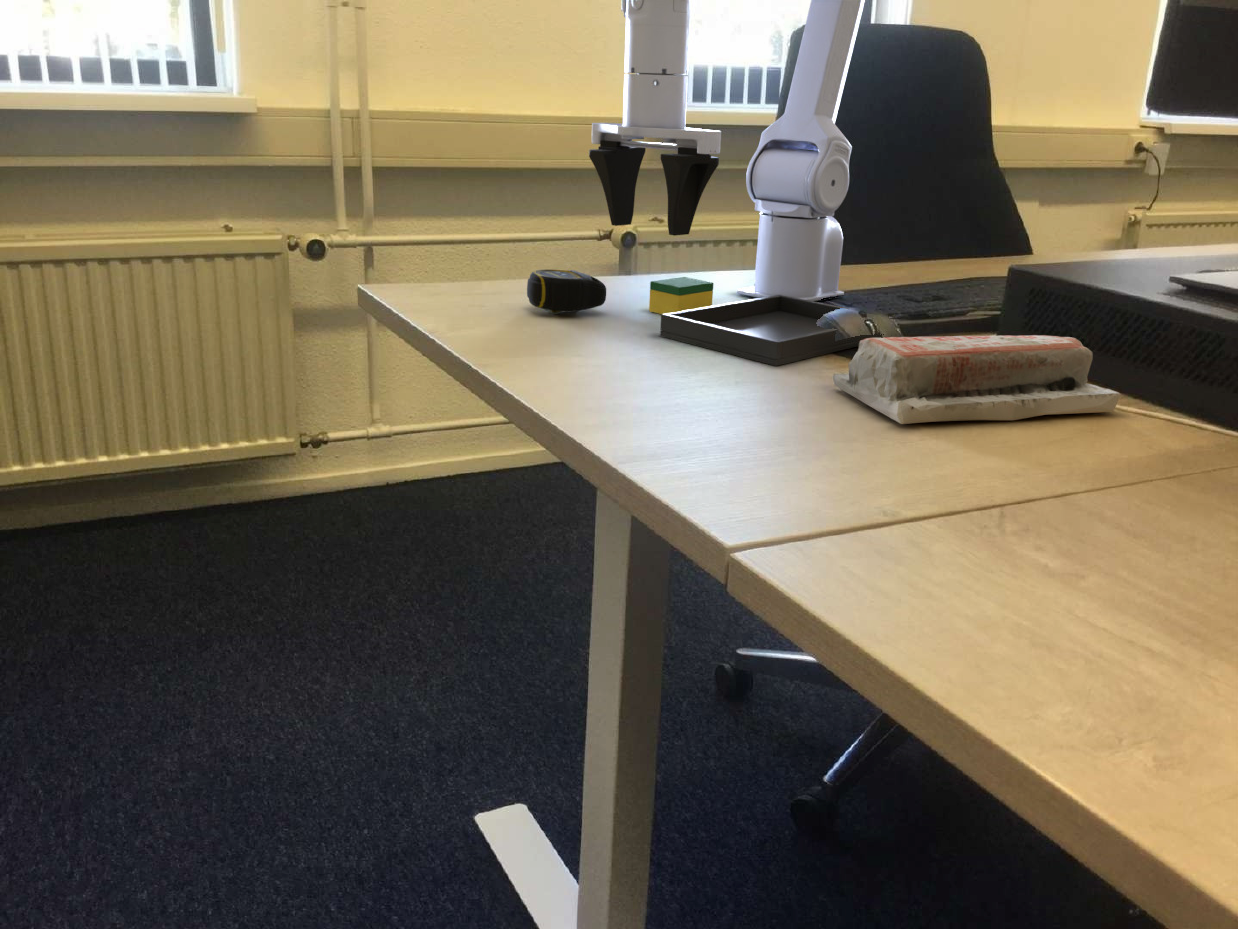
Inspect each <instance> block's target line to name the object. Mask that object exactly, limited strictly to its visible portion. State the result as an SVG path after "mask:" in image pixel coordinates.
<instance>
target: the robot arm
mask: <svg viewBox="0 0 1238 929" xmlns="http://www.w3.org/2000/svg"><path fill="white" fill-rule="evenodd" d="M865 2H866V0H810V4H809V8H808V12H807V16H806V21H805V24H804V29H803V33H802V37H801V41H800V46H799V50H798V54H797V59H796V63H795V67H794V70H793V74H792V75H793V76H792V80H791V83H790V88H789V92H788V96H787V97H788V98H787V101H786V104H785V109H784V113H783V114H782V115H781V116H780V117H779V118H778V119H776V120H775V121H774V122H772V123H771V124H770V125H769V126H767V128H765V129H764V130H763V131H762V132H761V135H760V140H759V144H758V146H757V148H756V150H755V151H754V153H753V155H752V157H751V159H750V160H749V163H748V166H747V170H746V175H745V181H746V182H745V184H746V185H745V186H746V192H747V194H748V196H749V198H750V199H751V201H752V202H753V203H754V212H755V211H756V212H759V221H758V232H757V233H758V234H757V246H756V257H755V270H754V282H753V286H749V287H742V288H737V289H736V293H737V294H739V295H744V296H748V297H753V298H763V297H769V296H775V295H784V296H789V297H794V298H799V299H804V300H809V301H814V302H818V301H822V300H821V299H823V298H826V297H830V296H837V295H845V292H844V291H842V290H839V281H840V273H841V265H842V256H843V255H842V254H843V247H844V246H843V245H844V236H843V235H844V234H843V231H842V228H841V225H840V223H839V221H838V220H837V219H836V218H835V217H834V216H835V211H837V210H838V209H839V208H840V206H841V205H842V203H843V202H844V200H845V198H846V196H847V193H848V191H849V186H850V158H851V154H852V150H853V146H852V144H851V143H850V142H849V139H848V138H846V136H845V135H844V133H842V131H841V130H840V128H839V127H838V126H837V125H836V120H837V116H838V111H839V108H840V104H841V100H842V96H843V92H844V88H845V83H846V80H847V76H848V72H849V67H850V63H851V60H852V55H853V51H854V48H855V42H856V38H857V35H858V31H859V26H860V23H861V18H862V14H863V10H864V7H865V6H864V5H865ZM692 3H693V0H621V12H623V17H624V18H625V30H624V33H625V35H624V59H623V60H624V61H623V62H624V65H623V73H624V74H623V94H622V97H623V98H622V100H623V101H622V123H615V122H592V123H591V144H592V145H598V148H593V149H589V150H588V158H589V160H590V161H591V162H592V165H593V166H594V168H595V171H596V173H597V175H598V177H599V180H600V182H601V187H602V189H603V192H604V196H605V200H606V205H607V209H608V213H609V220H610V223H611V226H615V227H619V226H630V225H632V222H633V218H634V210H635V198H636V188H637V183H638V182H637V181H638V177H639V172H640V169H641V166H642V162H643V159H644V156H645V154H646V149H653V150H663V151H674V152H677V153H660V161H661V165H662V169H663V173H664V177H665V184H666V192H667V229H668V236H674V237H675V236H684V235H690V233H691V232H690V231H691V229H692V225H693V221H694V218H695V215H696V213H697V212H696V211H697V208H698V206H699V203H700V200H701V198H702V196H703V193H704V191H705V189H706V187H707V184H708V183H709V181H710V179H711V178H712V176H713V174H714V172H715V171H716V170H717V168H718V167H719V165H720V164H719V163H720V157H718V156H712V155H720V153H721V140H722V131H721V130H713V129H702V128H696V127H695V128H694V127H686V123H687V122H686V120H687V104H688V103H687V101H688V80H689V62H690V42H691V21H692ZM655 83H656V84H655ZM645 138H652V139H662V142H663V143H662V142H651V141H641V140H644V139H645ZM639 140H640V141H639ZM711 154H712V155H711Z"/></svg>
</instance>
